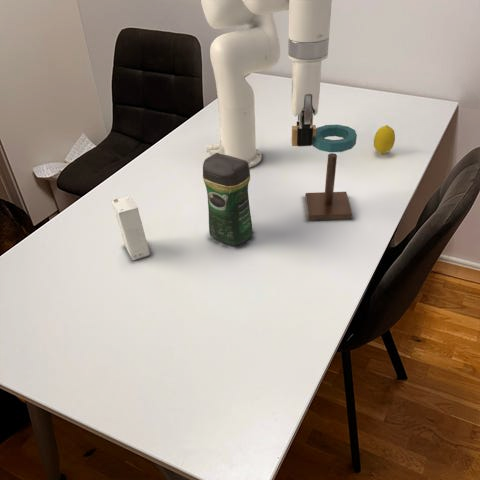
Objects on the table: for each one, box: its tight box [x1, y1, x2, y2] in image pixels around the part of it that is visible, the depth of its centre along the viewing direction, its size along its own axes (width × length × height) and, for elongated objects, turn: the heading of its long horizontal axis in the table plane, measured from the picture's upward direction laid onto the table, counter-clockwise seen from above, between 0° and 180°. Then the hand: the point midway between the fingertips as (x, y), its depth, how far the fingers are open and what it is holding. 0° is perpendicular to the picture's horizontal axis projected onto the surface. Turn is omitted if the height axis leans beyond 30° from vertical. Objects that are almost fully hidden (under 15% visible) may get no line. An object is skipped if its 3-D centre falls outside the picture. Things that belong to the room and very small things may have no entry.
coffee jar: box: [202, 153, 254, 247], centre depth 101 cm, size 10×8×19 cm
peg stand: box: [304, 152, 353, 222], centre depth 109 cm, size 10×10×14 cm
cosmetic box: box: [111, 195, 151, 261], centre depth 101 cm, size 6×4×12 cm
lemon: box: [373, 124, 396, 155], centre depth 129 cm, size 6×6×8 cm
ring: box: [291, 124, 358, 153], centre depth 100 cm, size 14×9×4 cm
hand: (304, 142), depth 102 cm, fingers closed on ring, 2 cm apart
